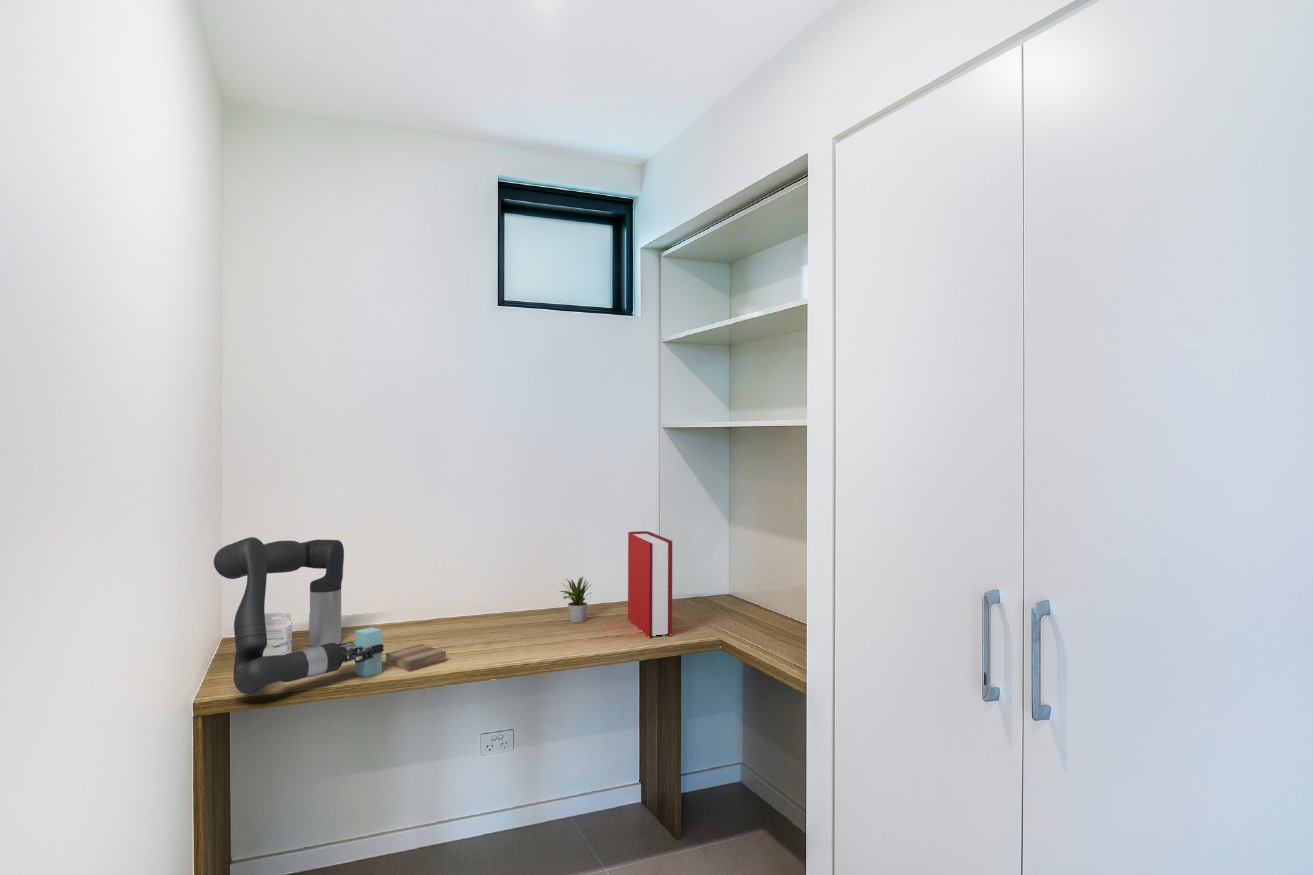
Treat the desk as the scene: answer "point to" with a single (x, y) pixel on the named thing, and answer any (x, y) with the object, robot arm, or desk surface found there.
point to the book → (650, 582)
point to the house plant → (577, 601)
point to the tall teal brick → (374, 664)
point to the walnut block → (415, 657)
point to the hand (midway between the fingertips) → (376, 645)
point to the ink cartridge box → (278, 634)
